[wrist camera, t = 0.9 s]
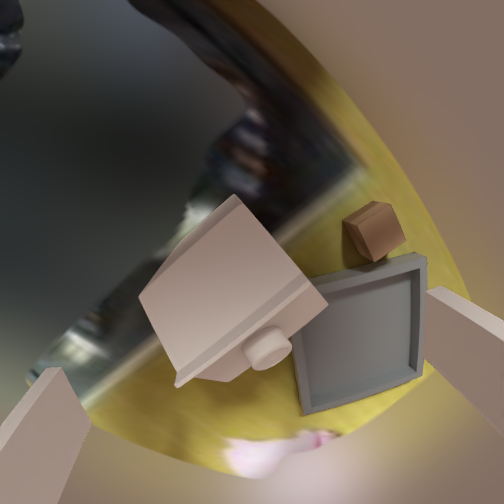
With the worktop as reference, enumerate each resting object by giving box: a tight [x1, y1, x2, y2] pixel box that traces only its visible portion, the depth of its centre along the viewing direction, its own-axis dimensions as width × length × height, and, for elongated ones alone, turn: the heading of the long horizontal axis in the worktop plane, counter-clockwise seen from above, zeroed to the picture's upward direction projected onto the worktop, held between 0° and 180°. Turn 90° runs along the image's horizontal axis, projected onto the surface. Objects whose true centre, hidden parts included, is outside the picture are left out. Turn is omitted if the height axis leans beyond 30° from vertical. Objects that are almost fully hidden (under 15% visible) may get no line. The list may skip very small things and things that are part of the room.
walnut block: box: [342, 201, 406, 262], centre depth 29 cm, size 4×4×4 cm
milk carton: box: [139, 194, 329, 388], centre depth 21 cm, size 7×7×19 cm
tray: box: [289, 252, 427, 415], centre depth 32 cm, size 16×16×2 cm
